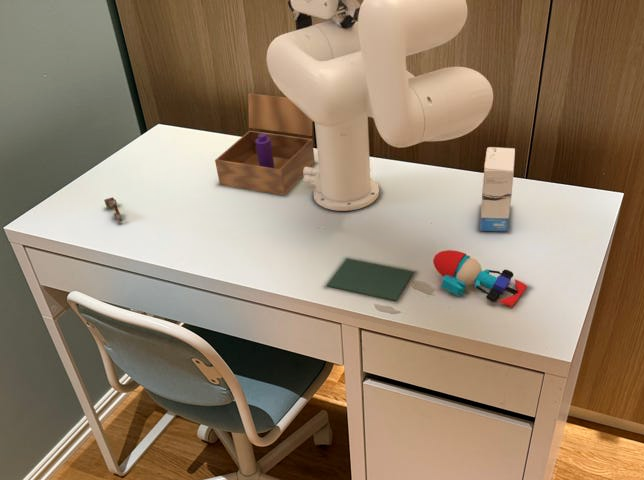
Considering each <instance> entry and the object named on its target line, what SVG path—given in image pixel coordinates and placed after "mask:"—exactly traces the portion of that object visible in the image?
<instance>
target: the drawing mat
mask: <svg viewBox="0 0 644 480" xmlns="http://www.w3.org/2000/svg"><path fill="white" fill-rule="evenodd" d="M413 275H414V271H412V270H408V269H402V268H398V267H392V266H388V265H384V264H383V265H382V264H378V263H372V262H367V261H362V260H357V259H352V258H345V260H344V262H343V263H342V264H341V265H340V267H339V268H338V269H337V271H336V272H335V274H334V275H333V276H332V277H331V278H330V280H329V281H328V283H327V284H326V287H328V288H332V289H338V290H342V291H346V292H352V293H355V294H356V293H357V294H361V295H366V296H369V297H370V296H371V297H375V298H378V299H384V300H388V301H393V302H397V301H398V299H399V297H400V296H401V294H402V293H403V291H404V289H405V288H406V286H407V285H408V283H409V281H410V279H411V278H412V276H413Z"/></svg>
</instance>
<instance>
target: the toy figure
mask: <svg viewBox="0 0 644 480" xmlns="http://www.w3.org/2000/svg"><path fill="white" fill-rule="evenodd" d="M432 263H433V266H434V269H435V270H436V272H437V273H438V274H439V275H440V276H441V277H443V278H442V282H441V288H442V289H444V290H445V291H448V292H450V294H453V295H454V296H457V297H462V296H463V293H465V291H466V286H472V285H474V289H477V290H478V291H480V292H482V293H483V294H486V295H485V298H486V299H487V300H488V301H489V302H492V303H496V302H499V303H501V304H503V305H505V306H508V307H513V306H514V305H515V304H516V303H517V302H518V301H519V298H520V296H522V295H523V293H524V292H525V291H526V289H527V288H528V286H527V285H526V283H524V282H522V281H520V280H518V279H516V278H515V279H514V282H515V288H513V287H510V286H509V285H510V282H511V280H512V278H513V277H514V272H513V271H511V270H509V269H506V268H505V269H503V270H502V271H501V272H500V271H499V270H491V269H484V270H482V265H481V263H480V262H479V261H478V260H477V259H475V258H473V257H471V256H470V255H469V254H467V253H465V252H462V251H459V250H452V249H447V250H446V249H445V250H442V251H439V252H437V253H436V254H435V255H434V256H433V260H432ZM490 273H492V274H498V276H494V275H492V274H490ZM480 286H481V287H480ZM482 287H483V288H482ZM484 288H487V289H488V290H489V292H488V291H487V290H486V289H484ZM505 292H506V293H510V294H512V295H510V296H508V297H505V298H503V299H500V298H501V296H502V295H504V293H505Z"/></svg>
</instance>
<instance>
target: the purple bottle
mask: <svg viewBox="0 0 644 480" xmlns="http://www.w3.org/2000/svg"><path fill="white" fill-rule="evenodd" d="M255 142H256V148H257V155H258V161H259V166H262V167H268V168H274V161H273V154H272V147H271V140H270V138H269V137H266V134H259V135H258V138H257V139H256V141H255Z"/></svg>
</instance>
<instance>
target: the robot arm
mask: <svg viewBox="0 0 644 480" xmlns="http://www.w3.org/2000/svg"><path fill="white" fill-rule="evenodd" d="M287 4H288V7H289V9H290V11H291V13H292V14H291V16H292V18H293V20H294V21H295V29H296V30H293V31H289V32H286V33H282V34H280V35H278V36H277V37H275V38H274V39H273V40H272V41H271V42H270V44H269V45H268V48H267V51H266V57H265V59H266V66H267V70H268V73H269V75H270V78H271V79H272V81H273V82H274V85H275V86H276V87H277V88H278V90H279V91H280V92H282V94H283V95H284V96H285V98H288V99H289V100H291V101H292V102H293V103H294V104H295V105H296V106H297V107H298V108H299V109H300V110H301V111H302V112H303V113H304V114H306V115H307V116H308V117H309V118H310V119H311V120H312V121H313V122H314V128H315V129H314V130H315V141H316V150H317V160H318V161H317V162H318V168H315V167H313V166H312V167H304V169H303V176H302V178H303V179H302V180H303V182H304V183H307V184H314V185H315V187H314V189H313V199H314V201H315V203H316V204H317V205H319V206H321V207H322V208H325V209H327V210H330V211H339V212H347V211H348V212H349V211H353V210H354V211H355V210H359V209H362V208H366V207H368V206H369V205H371V204H373V203H374V202H375V201H376V200H377V199H378V197H379V195H380V185H379V184H378V182H377V181H376V180H375V179H374V178H372V177H371V162H370V159H371V158H370V139H369V138H370V137H369V118H372V119H373V121H374V124H375V127H376V129H377V132H378V134H379V136H380V137H381V138H382V140H383V141H384V142H385V143H386V144H388V145H389V146H391V147H394V148H397V149H399V148H408V147H412V146H415V145H417V144H420V143H423V142H443V141H444V142H445V141H449V140H454V139H457V138H460V137H463V136H466V135H467V134H469V133H471V132H473V131H474V130H475V129H476V128H478V127H479V126H480V125H481V124H482V123H483V122H484V121H485V119H486V118H487V117H488V115H489V113H490V111H491V110H492V107H493V103H494V90H493V87H492V85H491V83H490V81H489V80H488V79H487V77H485V76H484V75H483V74H482V73H480V71H477V70H475V69H472V68H469V67H465V66H447V67H443V68H439V69H436V70H433V71H430V72H426V73H423V74H419V75H417V76H415V75H414V74H412V73H411V72H410V71H408V69H407V57H408V56H411V55H415V54H418V53H421V52H425V51H428V50H431V49H435V48H436V47H439V46H441V45H443V44H446V43H448V42H450V41H452V39H454V38H455V37H456V36H457V35H458V34H459V33H460V32H461V31H462V30H463V28H464V27H465V24H466V22H467V20H468V19H467V18H468V4H467V0H363V1H362V3H360V2H359V0H287ZM312 17H314V18H318V19H322V20H326V21H323V22H319V23H315V24H313V19H312ZM340 17H341V18H340Z"/></svg>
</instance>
